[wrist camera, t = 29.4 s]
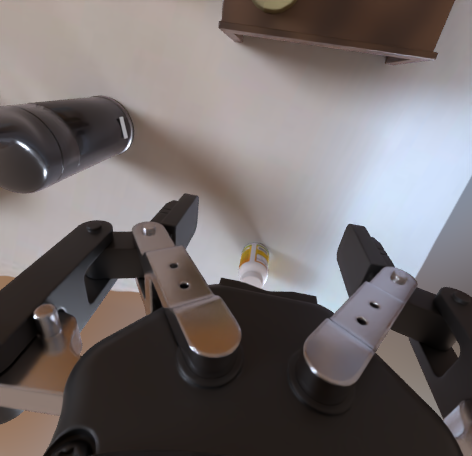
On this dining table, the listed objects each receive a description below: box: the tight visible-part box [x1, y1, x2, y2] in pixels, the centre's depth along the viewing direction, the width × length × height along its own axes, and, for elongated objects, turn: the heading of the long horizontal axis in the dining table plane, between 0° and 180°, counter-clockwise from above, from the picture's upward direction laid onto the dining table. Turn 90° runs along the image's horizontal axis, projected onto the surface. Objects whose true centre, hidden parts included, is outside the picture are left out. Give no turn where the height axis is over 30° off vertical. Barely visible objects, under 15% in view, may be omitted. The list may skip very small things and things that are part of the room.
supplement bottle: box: [238, 243, 269, 289], centre depth 50 cm, size 5×5×10 cm
